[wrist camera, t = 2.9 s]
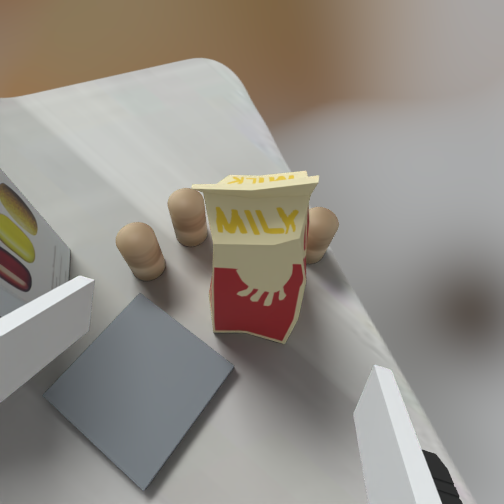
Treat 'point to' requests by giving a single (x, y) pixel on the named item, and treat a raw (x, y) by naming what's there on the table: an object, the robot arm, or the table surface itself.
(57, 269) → the supplement box
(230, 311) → the milk carton
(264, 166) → the table surface
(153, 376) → the mat
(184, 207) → the posts
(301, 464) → the table surface
